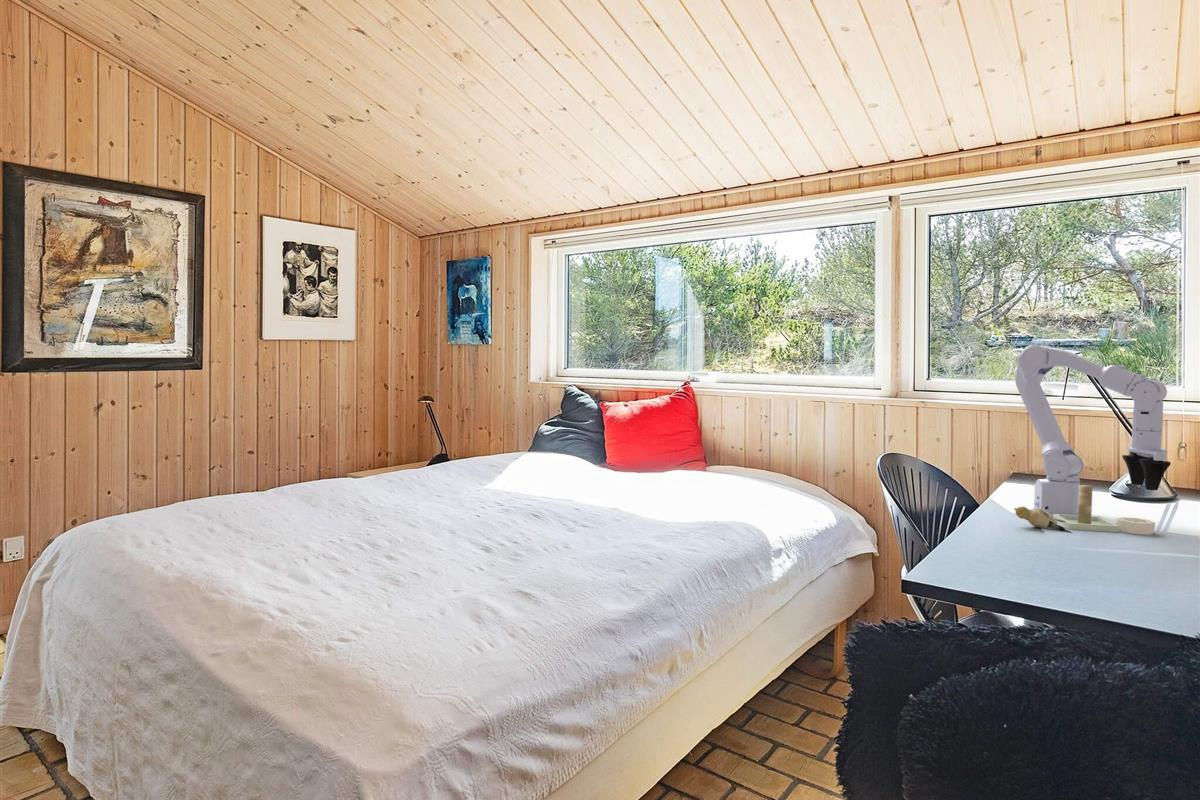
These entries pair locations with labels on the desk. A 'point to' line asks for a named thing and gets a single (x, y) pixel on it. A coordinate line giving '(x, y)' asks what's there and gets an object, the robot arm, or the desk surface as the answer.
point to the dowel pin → (1085, 504)
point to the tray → (1096, 524)
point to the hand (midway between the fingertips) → (1144, 487)
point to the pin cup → (1136, 525)
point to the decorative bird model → (1039, 518)
